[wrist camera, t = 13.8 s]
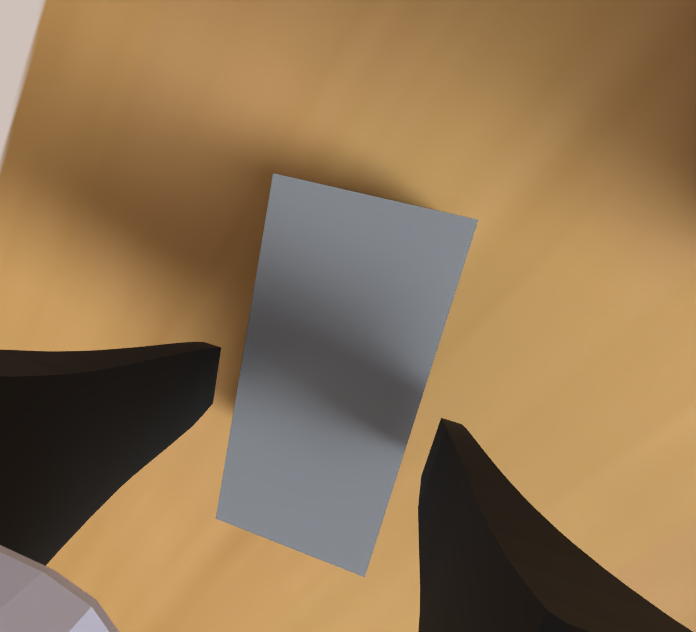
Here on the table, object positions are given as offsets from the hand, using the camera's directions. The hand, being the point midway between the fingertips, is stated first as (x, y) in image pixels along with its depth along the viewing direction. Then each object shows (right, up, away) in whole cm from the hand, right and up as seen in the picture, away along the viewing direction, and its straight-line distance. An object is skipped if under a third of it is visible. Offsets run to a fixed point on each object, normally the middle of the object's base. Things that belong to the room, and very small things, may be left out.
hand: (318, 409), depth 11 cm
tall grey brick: (+1, +1, +6) cm, 7 cm away
